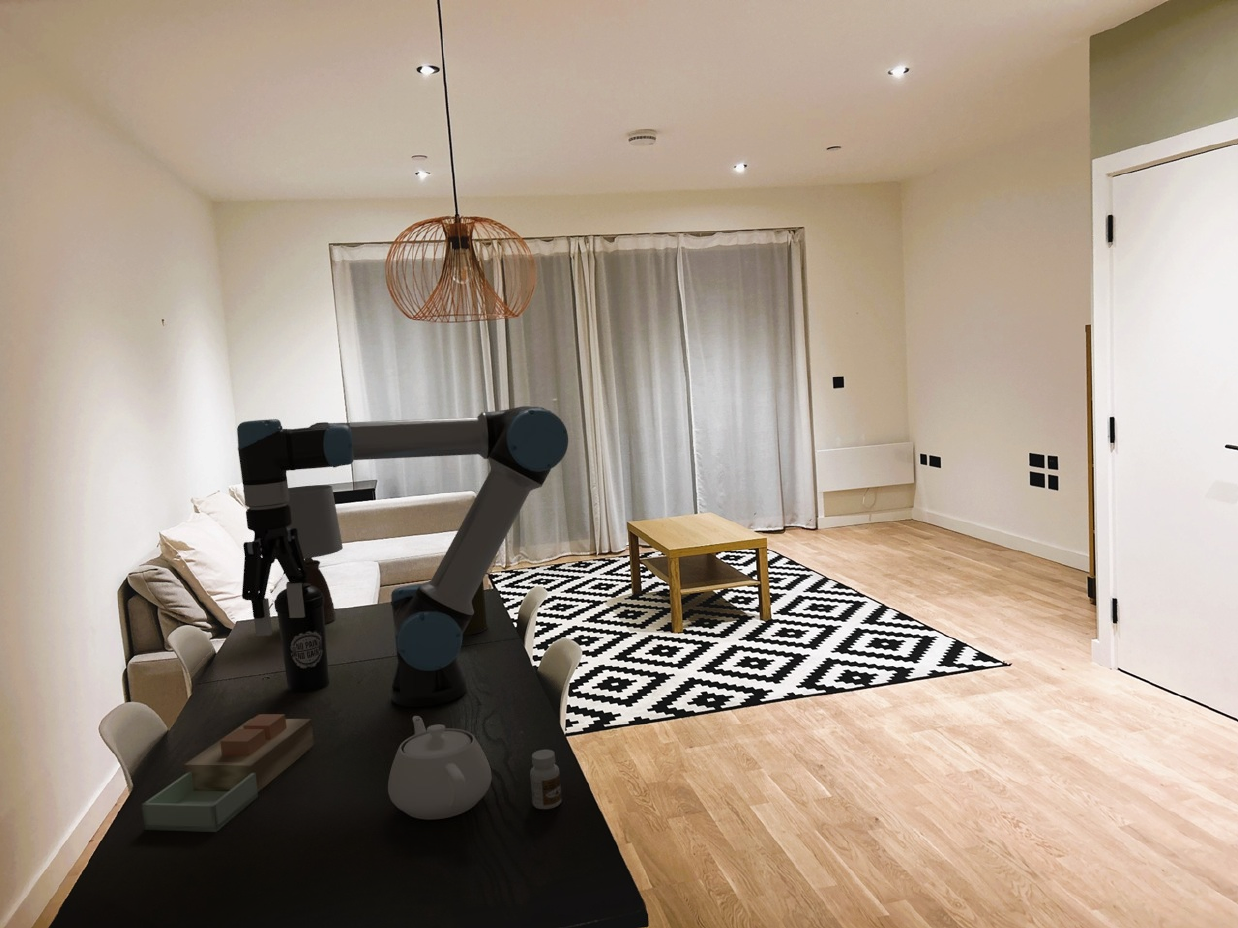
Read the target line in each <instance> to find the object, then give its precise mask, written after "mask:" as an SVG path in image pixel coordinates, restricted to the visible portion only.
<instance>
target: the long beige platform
mask: <svg viewBox="0 0 1238 928" xmlns="http://www.w3.org/2000/svg"><path fill="white" fill-rule="evenodd" d="M252 719H253V718H250V719H248V720H247V721H245V722H244V723H243V724H241V725H240V726H239V727H237V728H235V729H233V730H232V731H231V732H230V733H228V734H227V735H225V736H224V737H222V738H221V739H218V741H216V742H215V743H213V744H212V745H211V746H209V747H207V748H206V749H205V750H203V751H202V752H201V753H199V754H198V755H196V756H194V757H193V758H192V759H190V760H189V761H187V762H185V763H184V766H183V767H184V772H185V774H186V773H188V772H192V778H193V786H194V791H230V790H231V789H232V788H233V787H235V786H236V785H237V784H239V783H240V782H241V781H242V780H244V779H245V778H246V777H247V776H249V775H250V774H251V773H255V774H256V782H257V791H258V793H259V792H260V791H261V790H262V789H264V788H265V787H266V786H267V785H269V784H270V783H271V782H272V781H273V780H274V779H276V778H277V777H278V776H280V774H282V773H283V772H284V771H285V770H287V768H289V767H290V766H291V765H292V764H294V763H296V761H297V760H298V759H300V758H301V757H302V756H303V755H304V754H306V753H307V752H308V751H310V750H311V749H312V748H313V747H314V746H315V742H314V734H313V726H312V725H313V724H312V719H311V718H286V727H287V728H286V729H284V730H283V731H282V732H280V733H279V734H278V735H276V736H275V737H274V738H272V739H271V740H266V744H265V745H263V746H262V747H261V748H259V749H258V750H257V751H255V752H254V753H253V754H251V755H250V756H222V752H221V744H220V741H221V740H223V739H224V738H226V737H227V736H228V735H230V734H231V733H233V732H234V731H236V730H237V729H243V725H244V724H246V723H247V722H249V721H250V720H252ZM185 774H184V775H185Z"/></svg>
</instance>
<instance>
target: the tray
mask: <svg viewBox="0 0 1238 928" xmlns="http://www.w3.org/2000/svg"><path fill="white" fill-rule="evenodd" d="M257 798H259V792H258V791H257V782H256V774H255V773H251V774H250V775H249V776H247V777H246V778H245V779H244V780H242V781H241V782H240V783H239V784H237V785H236V786H235V787H233V788H232V789H231V790H230V791H194V786H193V778H192V772H188V773H186V774H183V775H182V776H181V777H178V779H176V780H174V781H173V782H172V783H171V784H168V785H167V786H166V787H165V788H163V789H162V790H160V791H159V792H158V793H156V794H155V795H153V796H152V797H150V798H148V800H146V801H145V802H143V803H142V804H141V810H142V817H143V825H144V830H145V831H146V830H147V831H167V832H168V831H173V832H174V831H175V832H203V833H204V832H207V833H217V832H218V831H219V830H221V829H222V828H223V827H224V826H225V825H226V824H228V823H229V822H230V821H231V820H233V819H234V818H235V817H236V816H237V815H238V814H239V813H241V812H242V811H243V810H245V808H246V807H249V805H250V804H251V803H253V802H254V801H255V800H256V799H257Z"/></svg>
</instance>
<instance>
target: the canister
mask: <svg viewBox="0 0 1238 928" xmlns="http://www.w3.org/2000/svg"><path fill="white" fill-rule="evenodd" d="M485 600H486V599H485V588H484V579H483V580H482V582H481V584H480V586H479V587H478V589H477V591H476V593H475V595H474V597H473V599H472V607H473V610H474V614H473V615H472V617H471V619H470V621H469V623H468V625H467V627H466V629H465V631H464V632H463V634H462V637H463V636H471V635H476V634H479V633H483V632H485V631H486V630H487V629H488V628H489V625H488V624H487V611H486V601H485Z"/></svg>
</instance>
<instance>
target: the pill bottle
mask: <svg viewBox="0 0 1238 928" xmlns="http://www.w3.org/2000/svg"><path fill="white" fill-rule="evenodd" d="M531 763H532V764H531V765H532V766H533V767H531V769H530V772H529V774H530V775H529V776H530V777H529V779H530V788H531V800H532V801H531V802H532V805H533V807H535V808H536V809H538V810H551V809H554V808H556V807H558V806H559V805H560V804H561V802H562V787H561V786H562V785H561V774H560V768H559V766H558V765H557V764H556V753H555V751H554V750H551V749H540V750H537V751H535V752H533V753H532V755H531Z"/></svg>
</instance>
